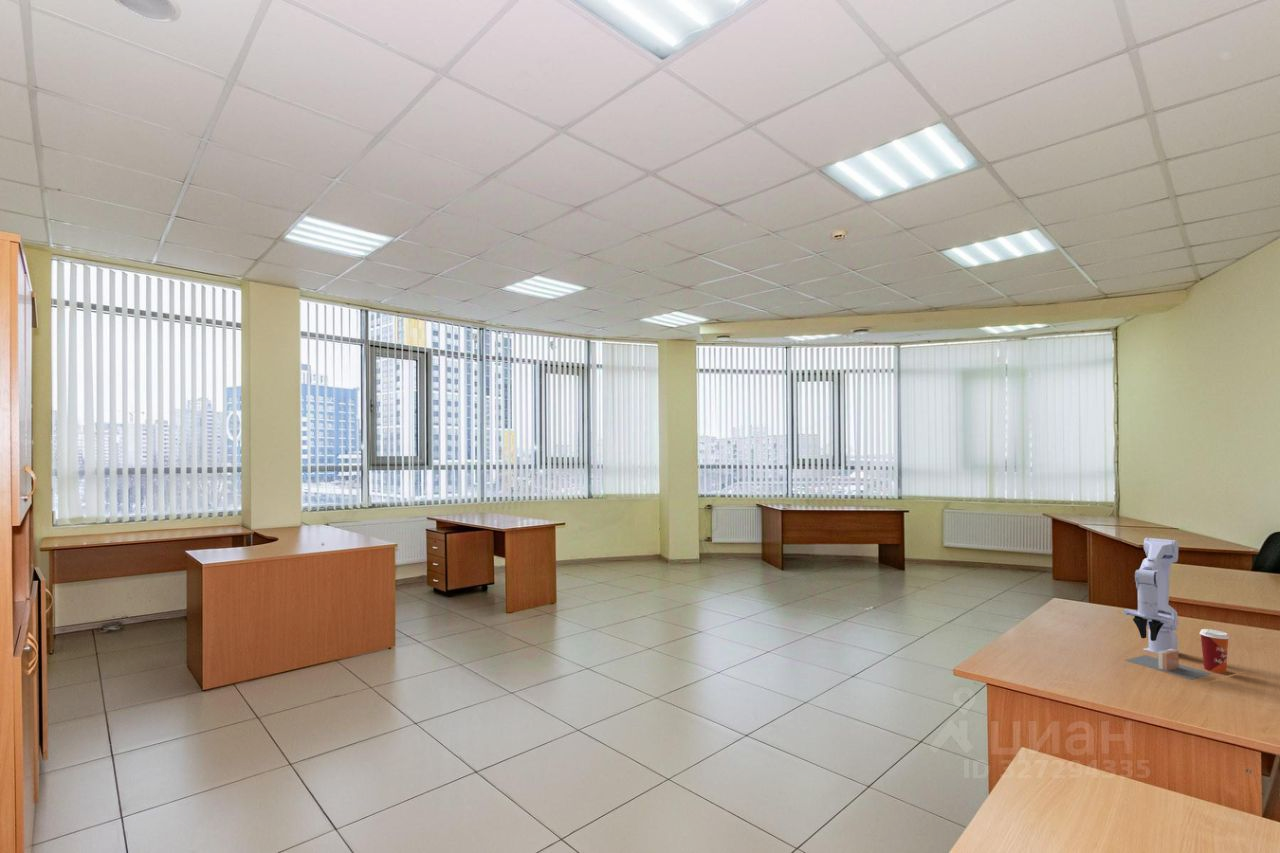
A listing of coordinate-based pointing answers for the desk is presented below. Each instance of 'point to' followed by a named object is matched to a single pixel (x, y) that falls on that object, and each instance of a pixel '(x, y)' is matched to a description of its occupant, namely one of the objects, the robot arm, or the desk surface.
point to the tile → (1168, 659)
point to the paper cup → (1214, 650)
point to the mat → (1181, 671)
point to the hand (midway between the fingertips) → (1148, 639)
